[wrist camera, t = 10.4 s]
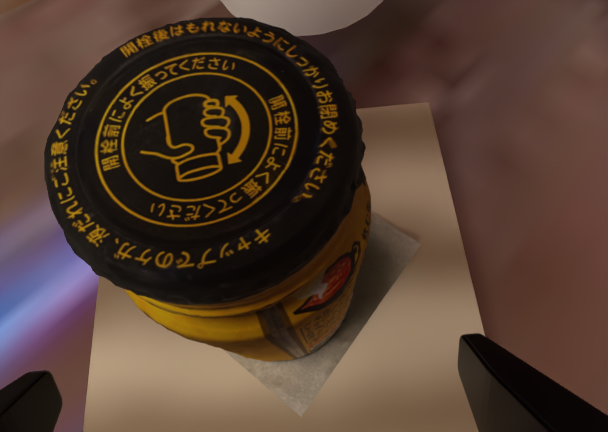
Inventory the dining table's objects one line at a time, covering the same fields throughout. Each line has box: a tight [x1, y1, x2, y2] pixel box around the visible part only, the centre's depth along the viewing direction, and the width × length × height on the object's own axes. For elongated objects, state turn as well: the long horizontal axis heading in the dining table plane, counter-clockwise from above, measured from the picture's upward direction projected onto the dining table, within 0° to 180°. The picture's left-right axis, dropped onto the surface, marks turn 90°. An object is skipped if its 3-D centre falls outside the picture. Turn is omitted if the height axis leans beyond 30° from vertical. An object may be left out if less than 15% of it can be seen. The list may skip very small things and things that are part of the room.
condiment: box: [44, 17, 421, 417], centre depth 12 cm, size 7×8×12 cm
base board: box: [83, 102, 485, 432], centre depth 19 cm, size 16×16×3 cm
